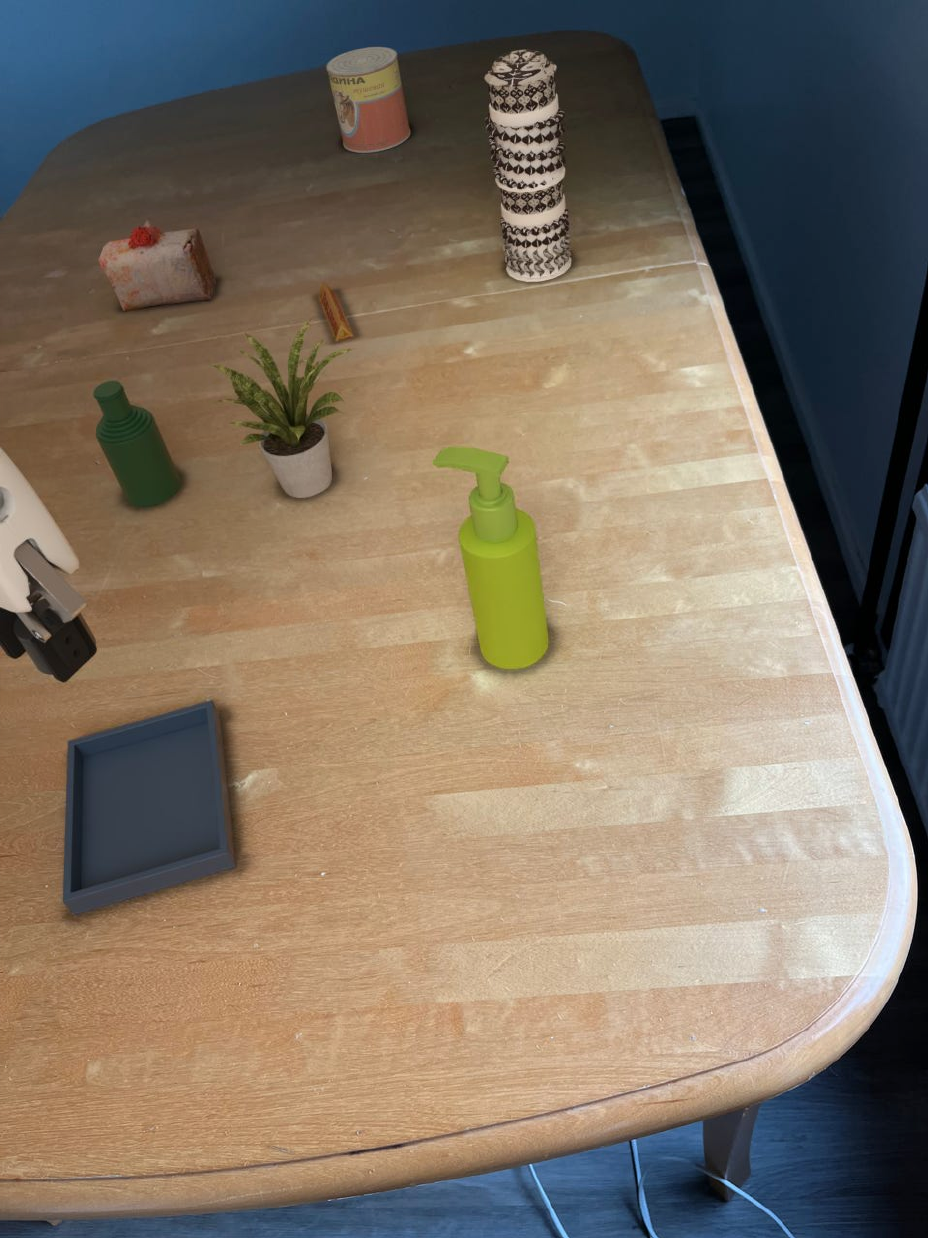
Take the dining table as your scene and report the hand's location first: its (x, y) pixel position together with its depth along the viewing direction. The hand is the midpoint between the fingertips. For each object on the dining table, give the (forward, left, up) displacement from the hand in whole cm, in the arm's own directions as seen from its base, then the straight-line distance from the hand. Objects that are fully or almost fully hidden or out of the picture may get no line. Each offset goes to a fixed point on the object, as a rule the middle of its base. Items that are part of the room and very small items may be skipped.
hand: (52, 652), depth 67 cm
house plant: (-13, +39, -19) cm, 45 cm away
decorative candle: (-12, +85, -19) cm, 88 cm away
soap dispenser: (+17, +27, -19) cm, 37 cm away
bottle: (-29, +30, -19) cm, 46 cm away
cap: (0, +1, -1) cm, 1 cm away
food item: (-58, +63, -19) cm, 88 cm away
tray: (0, 0, -19) cm, 19 cm away
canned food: (-59, +115, -19) cm, 131 cm away
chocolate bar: (-31, +66, -19) cm, 75 cm away
